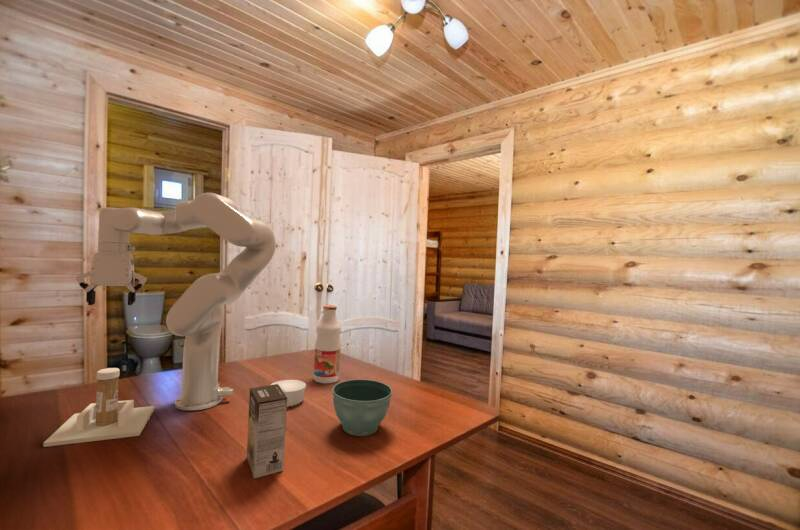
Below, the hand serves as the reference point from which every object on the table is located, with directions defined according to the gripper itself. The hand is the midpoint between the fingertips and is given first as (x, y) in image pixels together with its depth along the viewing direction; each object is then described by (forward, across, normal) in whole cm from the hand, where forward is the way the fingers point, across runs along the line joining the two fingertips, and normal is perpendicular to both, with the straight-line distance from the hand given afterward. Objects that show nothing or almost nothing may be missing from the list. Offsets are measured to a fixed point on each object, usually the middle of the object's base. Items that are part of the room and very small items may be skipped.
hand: (111, 304), depth 109 cm
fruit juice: (+28, -67, +1) cm, 73 cm away
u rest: (+28, -6, +22) cm, 36 cm away
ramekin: (+29, -51, +18) cm, 61 cm away
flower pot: (+28, -68, +42) cm, 85 cm away
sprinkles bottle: (+28, -6, +22) cm, 36 cm away
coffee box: (+28, -43, +52) cm, 73 cm away
